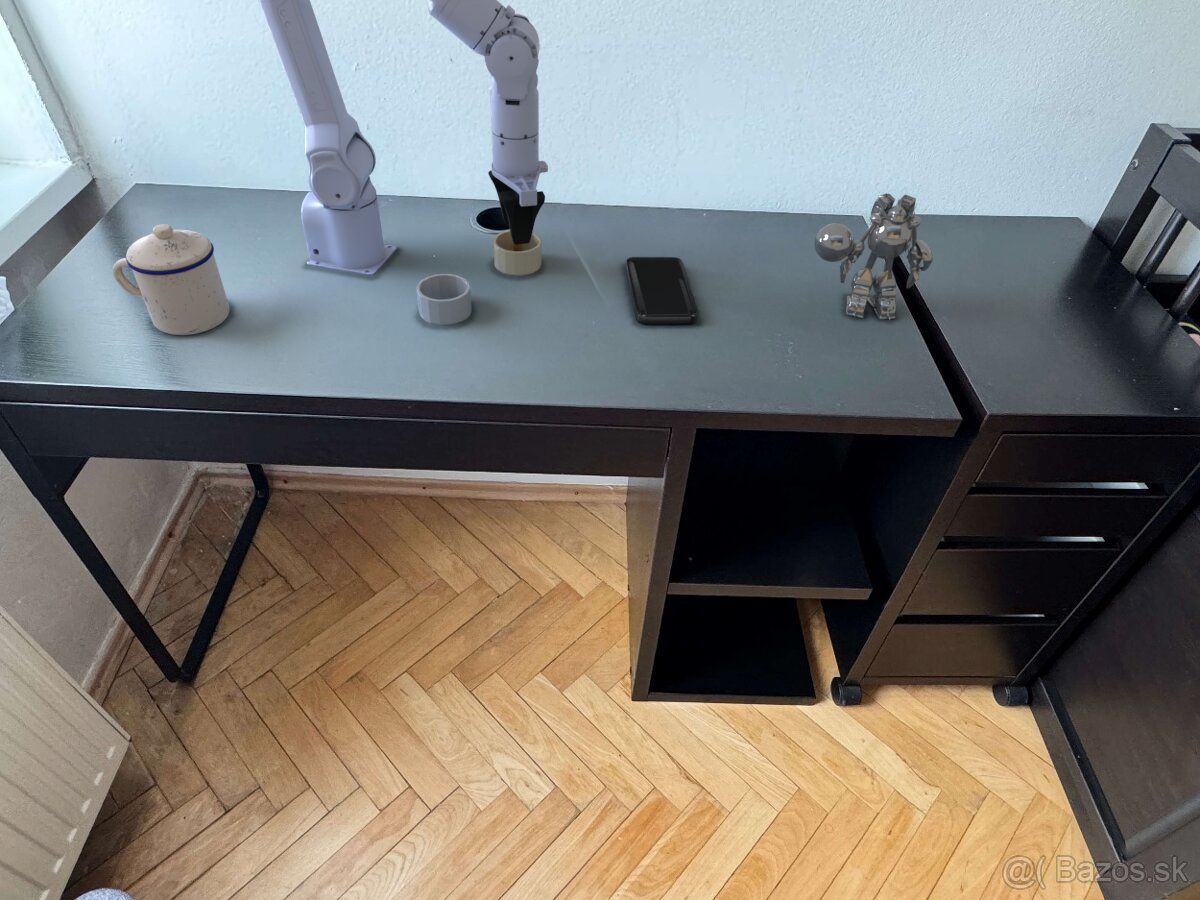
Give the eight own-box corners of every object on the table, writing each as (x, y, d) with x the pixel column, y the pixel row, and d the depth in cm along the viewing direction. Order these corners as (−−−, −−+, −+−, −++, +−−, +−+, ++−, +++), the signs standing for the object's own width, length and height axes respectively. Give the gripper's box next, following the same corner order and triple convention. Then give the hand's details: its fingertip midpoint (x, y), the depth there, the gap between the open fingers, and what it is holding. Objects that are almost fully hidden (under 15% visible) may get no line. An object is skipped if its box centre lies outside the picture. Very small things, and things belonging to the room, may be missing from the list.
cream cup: (487, 273, 108) (486, 248, 105) (502, 251, 112) (501, 226, 110) (533, 281, 107) (533, 255, 104) (546, 258, 111) (546, 233, 109)
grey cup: (411, 323, 98) (408, 296, 96) (431, 296, 103) (428, 270, 100) (461, 331, 97) (459, 304, 95) (478, 304, 102) (477, 278, 99)
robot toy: (802, 315, 104) (830, 206, 94) (796, 290, 108) (823, 184, 98) (916, 323, 104) (957, 215, 94) (905, 298, 108) (943, 192, 98)
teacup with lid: (243, 298, 100) (218, 211, 92) (215, 340, 93) (185, 249, 86) (147, 292, 100) (114, 204, 92) (112, 333, 93) (73, 242, 85)
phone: (638, 316, 99) (625, 256, 110) (637, 324, 100) (625, 263, 111) (700, 316, 100) (682, 257, 111) (699, 324, 101) (681, 264, 112)
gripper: (562, 151, 93) (560, 257, 102) (533, 107, 103) (533, 206, 112) (502, 156, 91) (505, 262, 100) (479, 110, 101) (484, 211, 111)
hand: (517, 233), depth 106 cm, fingers open, 4 cm apart
